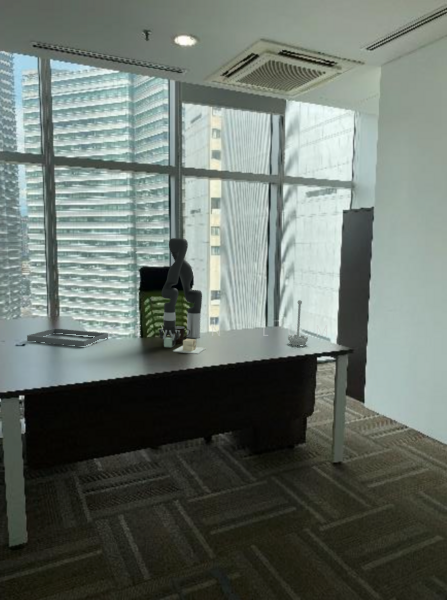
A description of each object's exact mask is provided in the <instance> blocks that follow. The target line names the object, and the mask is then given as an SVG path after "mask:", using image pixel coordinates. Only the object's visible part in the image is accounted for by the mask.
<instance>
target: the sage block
mask: <svg viewBox="0 0 447 600" xmlns="http://www.w3.org/2000/svg"><path fill="white" fill-rule="evenodd" d="M163 347H164V348H173V347H174V346H172V337H168V336H167V338H165V339H164V344H163Z"/></svg>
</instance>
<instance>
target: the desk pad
mask: <svg viewBox="0 0 447 600" xmlns="http://www.w3.org/2000/svg"><path fill="white" fill-rule="evenodd" d="M206 348H207V347H199V346H196V349H195V350H193V351H185V350H183V345H181V346H179V347H177V348H175V349H173V350H172V352H173V353H174V352H175V353H182V354H183V353H184V354H194V355H199V354H201V353H202V352H204V351H205V350H206Z"/></svg>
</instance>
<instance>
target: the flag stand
mask: <svg viewBox="0 0 447 600" xmlns="http://www.w3.org/2000/svg"><path fill="white" fill-rule="evenodd" d="M297 304H298V306H297V307H298V308H297V324H296V325H297V326H296V329H297V330H296V334H294V335H292V334H289V335H288V337H287V339H288V341H289V343H290V344H292V345H291V346H294V345H305V344H306V345H307V342H308V340H309V337H308V336H307V335H306V336H305V335H303V334H301V335H300V328H301V327H300V325H301V308H302V306H301V305H302V304H303V301H302V300H300V299H299V300H298V301H297ZM290 344H289V345H290ZM306 345H305V346H306Z"/></svg>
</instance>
